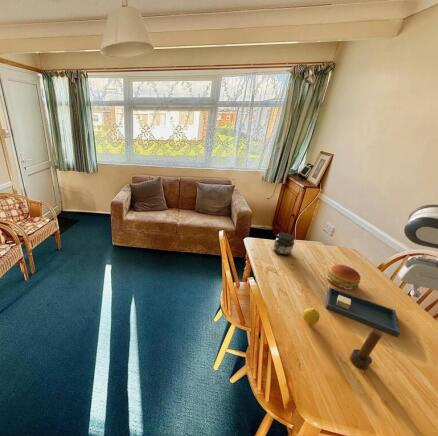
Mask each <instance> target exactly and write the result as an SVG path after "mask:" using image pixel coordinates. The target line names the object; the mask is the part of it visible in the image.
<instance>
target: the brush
mask: <svg viewBox="0 0 438 436" xmlns="http://www.w3.org/2000/svg"><path fill="white" fill-rule="evenodd" d="M383 336H384V335H383V333H382V331H380V330H378V329H375V328H372V329H371V331H370V332H369V334H368V335H367V337H366V339H365V341H364V342H363V344H362V346H361V347H360V348H359V349H355V348H354V349H353V351H352V352H351V354H350V356H349V361H350V362H351V364H352V365H353V366H355V367H356V368H358V369H360V370H365V371H366V370H368V369H369V367H370V366H371V364H372V363H373V359H372V357H371V356H370V355H371V354H372V352H373V351H374V349H375V348H376V346H377V345H378V344H379V341H380V340H381V338H382V337H383Z"/></svg>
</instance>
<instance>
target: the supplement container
mask: <svg viewBox="0 0 438 436" xmlns="http://www.w3.org/2000/svg"><path fill="white" fill-rule="evenodd" d="M295 240H296V237H295V236H294V235H292V234H291V233H288V232H279V233H278V234H277V235H276V237H275V240H274V243H273V248H272V251H273V252H274V253H275V254H276V253H277V255H278V254H279V256H281V255H282V256H281V257H289V256H291V255H292V253H293V252H292V251H293V249H294V246H295Z"/></svg>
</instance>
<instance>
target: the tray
mask: <svg viewBox="0 0 438 436" xmlns="http://www.w3.org/2000/svg"><path fill="white" fill-rule="evenodd" d="M326 294H327V295H326V301H325V310H328V311H330V312H333V313H337V314H338V315H340V316H344V317H345V318H348V319H351V320H353V321H356V322H358V323H361V324H364V325H365V326H368V327H371V328H372V329H377V330H379V331H380V332H383V333H384V334H385V333H386V334H388V335H391V336H393V337H396V338H399V336H400V334H401V330H400V326H399V321H398V317H397V312H396V310H395V309H393V308H391V307H388V306H384V305H382V304H379V303H376V302H373V301H370V300H368V299H365V298H361V297H359V296H356V295H353V294H351V293H347V292H344V291H341V290H339V289H336V288H333V287H330V286H329V287H328V289H327V293H326ZM339 295H341V296H343V297H346V298H348V299H351V304H350V307H349V309H348V310H347V309H345V308H342V307H340V306H337V305H336V301H337V298H338V296H339Z"/></svg>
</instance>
